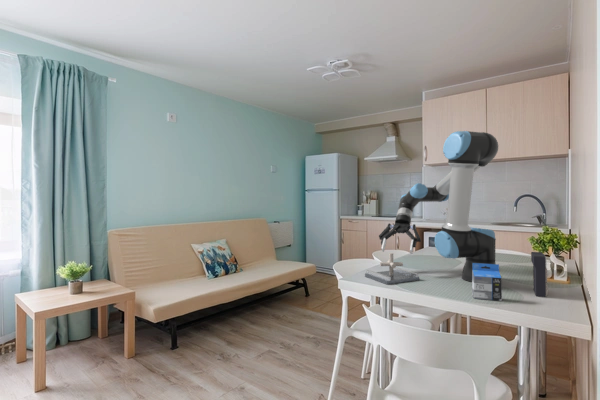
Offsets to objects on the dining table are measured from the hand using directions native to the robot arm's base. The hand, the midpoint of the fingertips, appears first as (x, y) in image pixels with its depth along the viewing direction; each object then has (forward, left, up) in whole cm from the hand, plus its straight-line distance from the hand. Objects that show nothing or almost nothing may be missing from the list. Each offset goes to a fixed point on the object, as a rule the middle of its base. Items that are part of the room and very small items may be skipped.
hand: (396, 251), depth 157 cm
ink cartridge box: (-44, -3, -11) cm, 46 cm away
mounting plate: (-5, +8, -11) cm, 15 cm away
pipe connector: (-5, +8, -10) cm, 14 cm away
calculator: (-48, -27, -11) cm, 57 cm away
